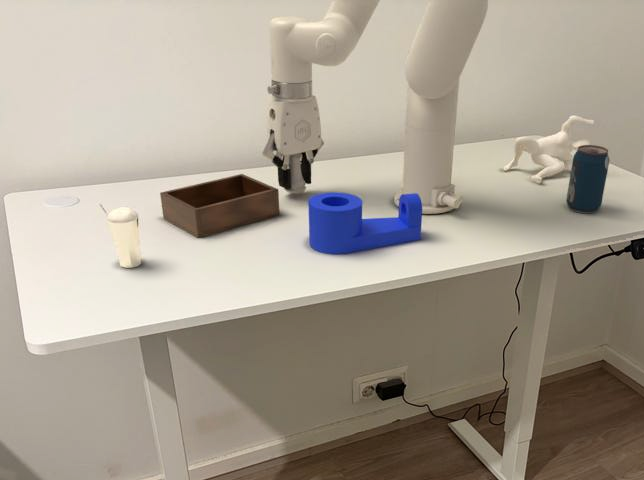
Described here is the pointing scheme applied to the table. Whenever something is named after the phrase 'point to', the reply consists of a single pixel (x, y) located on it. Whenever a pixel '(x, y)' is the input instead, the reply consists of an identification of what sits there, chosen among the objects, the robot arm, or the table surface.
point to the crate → (219, 204)
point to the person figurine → (550, 149)
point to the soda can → (587, 179)
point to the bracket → (359, 224)
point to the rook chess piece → (296, 174)
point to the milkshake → (125, 235)
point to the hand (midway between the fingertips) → (295, 183)
